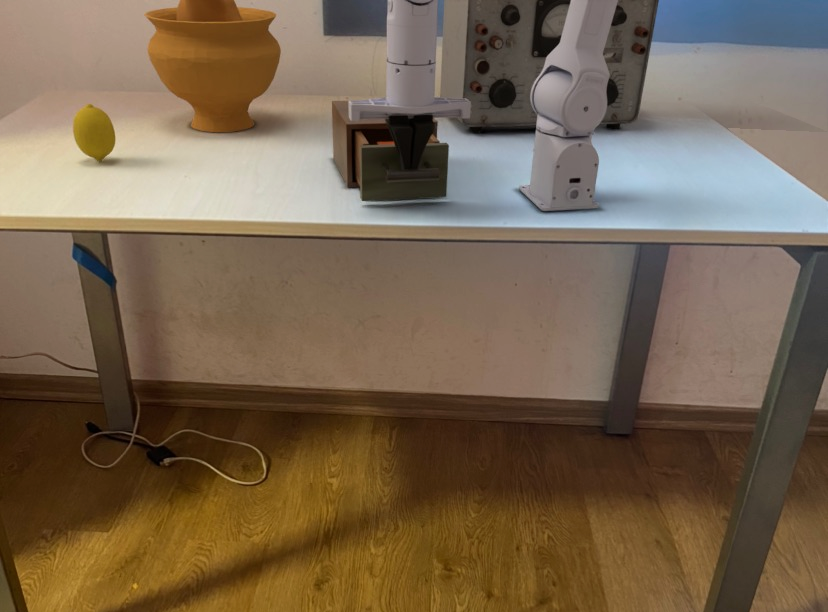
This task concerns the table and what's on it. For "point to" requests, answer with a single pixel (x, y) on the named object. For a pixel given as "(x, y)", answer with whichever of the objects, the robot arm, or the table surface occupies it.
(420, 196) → the drawer
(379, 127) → the cabinet
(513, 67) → the vintage electronic device
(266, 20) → the mortar and pestle
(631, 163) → the table surface
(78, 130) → the lemon
